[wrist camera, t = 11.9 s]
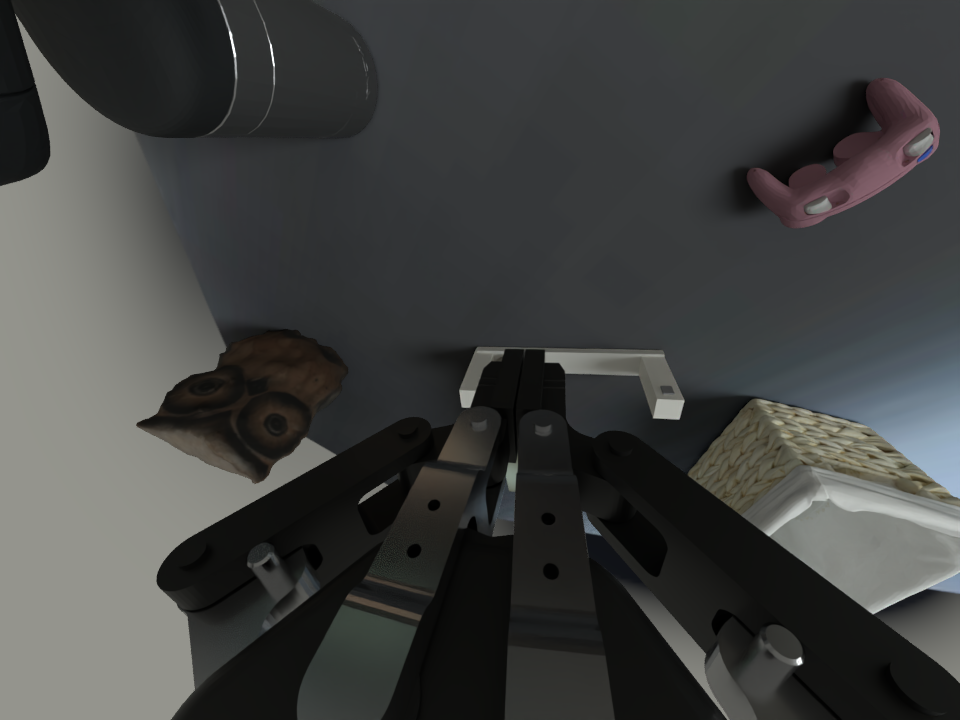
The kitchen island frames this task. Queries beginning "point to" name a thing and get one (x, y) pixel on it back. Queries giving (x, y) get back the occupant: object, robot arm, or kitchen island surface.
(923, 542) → the storage basket
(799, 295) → the kitchen island surface
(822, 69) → the kitchen island surface
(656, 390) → the gate posts
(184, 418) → the owl
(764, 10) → the kitchen island surface
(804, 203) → the video game controller
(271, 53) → the robot arm
